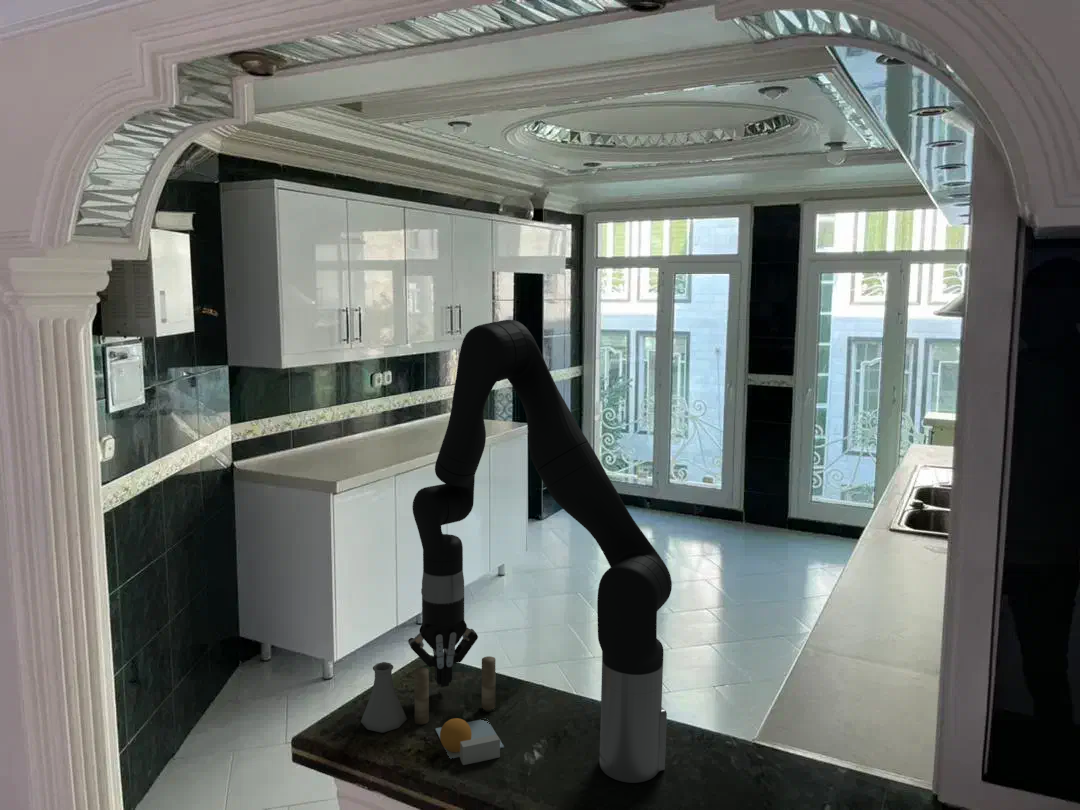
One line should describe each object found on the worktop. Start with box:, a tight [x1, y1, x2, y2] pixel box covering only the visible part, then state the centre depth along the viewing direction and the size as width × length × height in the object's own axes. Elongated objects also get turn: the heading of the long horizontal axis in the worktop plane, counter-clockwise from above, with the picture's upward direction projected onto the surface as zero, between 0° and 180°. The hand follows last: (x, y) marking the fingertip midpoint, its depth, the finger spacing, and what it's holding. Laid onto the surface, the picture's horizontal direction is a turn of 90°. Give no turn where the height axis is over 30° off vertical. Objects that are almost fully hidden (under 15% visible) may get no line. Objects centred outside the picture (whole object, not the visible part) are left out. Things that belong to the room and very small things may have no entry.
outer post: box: [413, 667, 430, 725], centre depth 134 cm, size 2×2×9 cm
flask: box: [360, 661, 408, 734], centre depth 134 cm, size 7×7×10 cm
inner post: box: [481, 656, 496, 710], centre depth 138 cm, size 2×2×9 cm
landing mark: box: [434, 719, 505, 760], centre depth 130 cm, size 9×9×1 cm
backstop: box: [459, 733, 501, 766], centre depth 124 cm, size 6×2×3 cm, turn 112°
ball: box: [439, 717, 472, 752], centre depth 126 cm, size 5×5×5 cm
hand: (443, 684), depth 144 cm, fingers closed
